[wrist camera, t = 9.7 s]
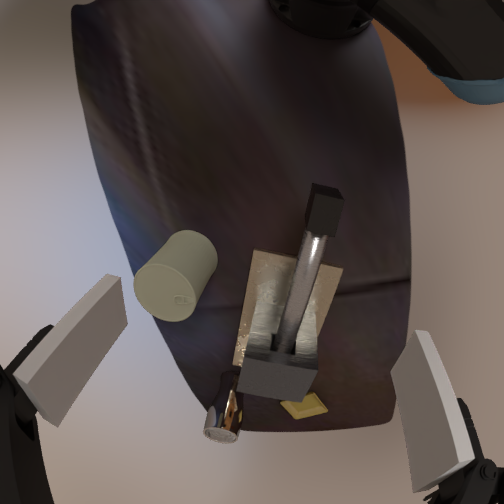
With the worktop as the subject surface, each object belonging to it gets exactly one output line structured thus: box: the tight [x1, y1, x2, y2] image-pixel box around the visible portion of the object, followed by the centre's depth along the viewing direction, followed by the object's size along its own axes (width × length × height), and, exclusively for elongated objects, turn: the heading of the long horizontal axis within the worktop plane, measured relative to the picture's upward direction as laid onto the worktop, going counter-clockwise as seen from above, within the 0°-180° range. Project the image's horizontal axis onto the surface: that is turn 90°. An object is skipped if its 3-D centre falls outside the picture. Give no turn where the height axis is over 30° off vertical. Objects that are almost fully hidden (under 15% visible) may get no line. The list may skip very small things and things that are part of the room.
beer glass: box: [203, 371, 244, 443], centre depth 52 cm, size 7×7×15 cm
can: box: [134, 230, 218, 322], centre depth 41 cm, size 9×9×12 cm
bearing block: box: [232, 247, 343, 403], centre depth 43 cm, size 26×14×14 cm, turn 171°
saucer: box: [280, 392, 328, 419], centre depth 59 cm, size 9×9×2 cm
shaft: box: [271, 183, 345, 354], centre depth 35 cm, size 27×3×5 cm, turn 171°
